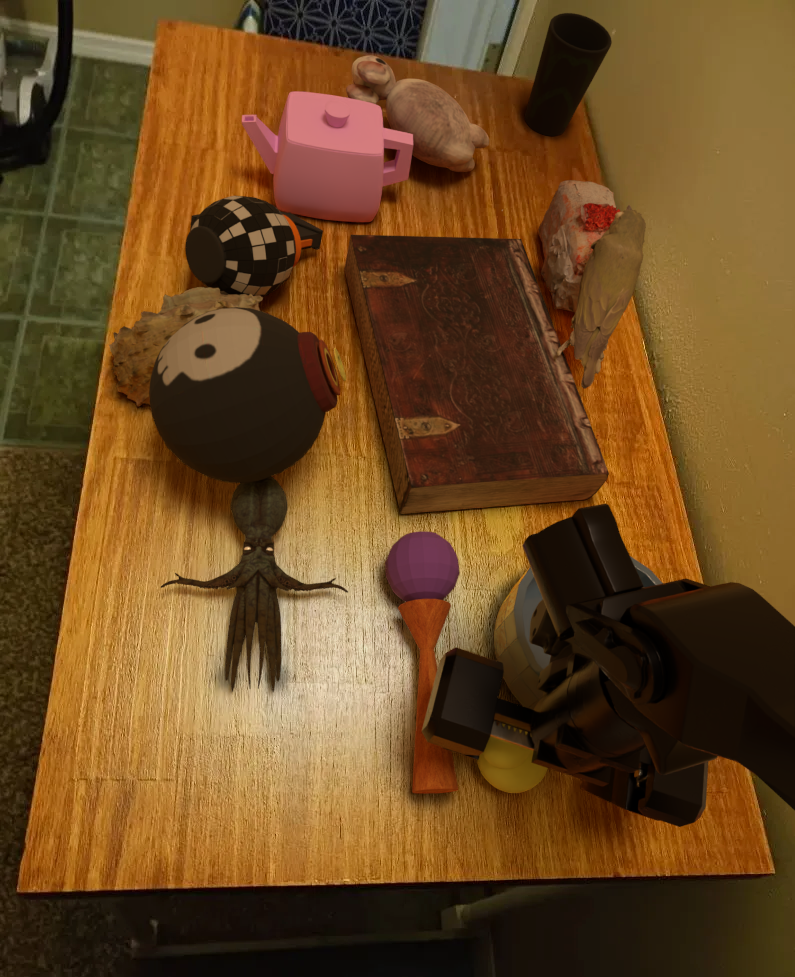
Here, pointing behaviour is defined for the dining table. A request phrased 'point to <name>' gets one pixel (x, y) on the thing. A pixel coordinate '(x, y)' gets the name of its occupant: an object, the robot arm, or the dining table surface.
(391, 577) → the kendama
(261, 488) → the figurine
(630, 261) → the decorative bird model
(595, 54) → the cup
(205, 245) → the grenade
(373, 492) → the dining table surface
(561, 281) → the food item
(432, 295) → the antique book
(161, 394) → the toy
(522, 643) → the bowl
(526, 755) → the pear toy
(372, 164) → the teapot
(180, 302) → the seashell
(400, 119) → the toy
